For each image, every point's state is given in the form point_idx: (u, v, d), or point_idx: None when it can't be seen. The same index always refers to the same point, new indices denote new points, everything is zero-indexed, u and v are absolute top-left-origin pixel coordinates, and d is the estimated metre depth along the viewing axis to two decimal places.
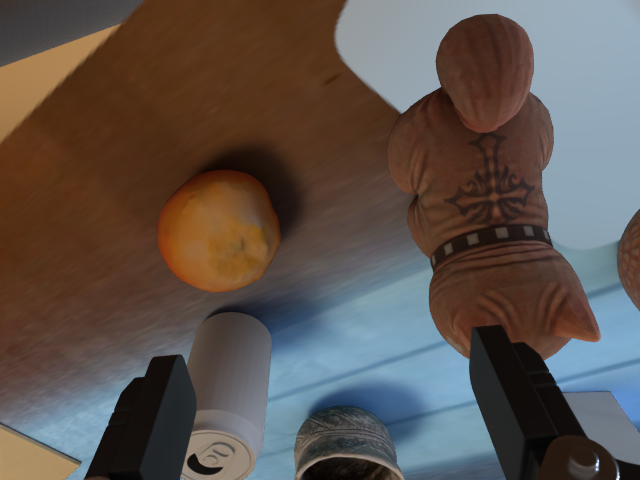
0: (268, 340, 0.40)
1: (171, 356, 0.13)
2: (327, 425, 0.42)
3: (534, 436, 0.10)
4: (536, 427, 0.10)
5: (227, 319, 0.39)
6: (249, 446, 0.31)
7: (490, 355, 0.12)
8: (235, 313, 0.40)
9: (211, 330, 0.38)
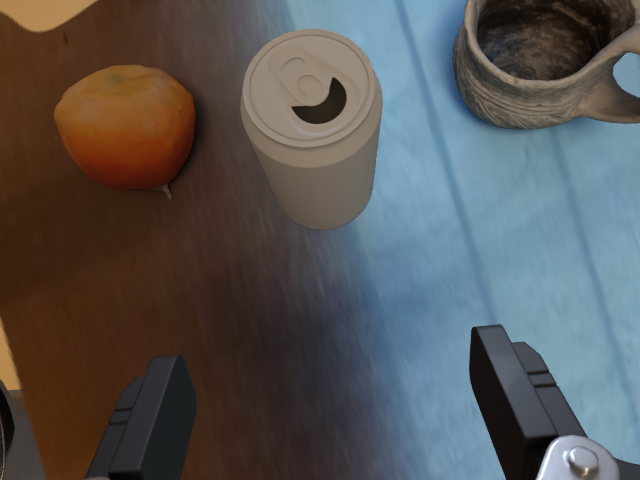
0: None
1: (171, 356, 0.13)
2: (458, 65, 0.30)
3: (534, 436, 0.10)
4: (536, 427, 0.10)
5: None
6: (294, 32, 0.22)
7: (490, 355, 0.12)
8: None
9: None
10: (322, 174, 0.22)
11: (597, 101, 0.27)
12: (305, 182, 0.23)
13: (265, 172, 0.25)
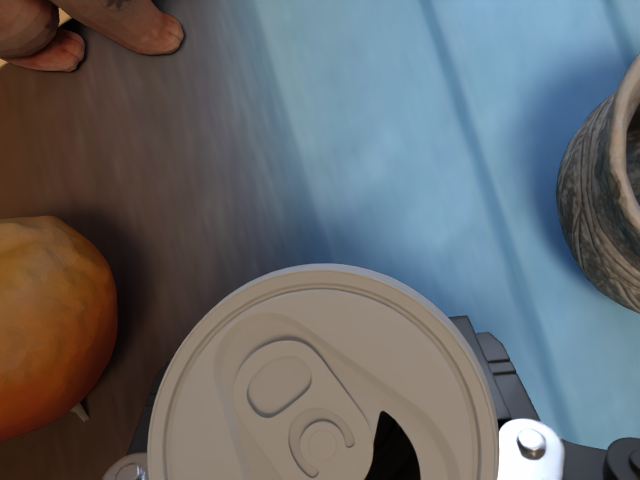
0: None
1: None
2: (576, 215, 0.17)
3: None
4: None
5: None
6: (282, 276, 0.09)
7: None
8: None
9: None
10: None
11: None
12: None
13: None
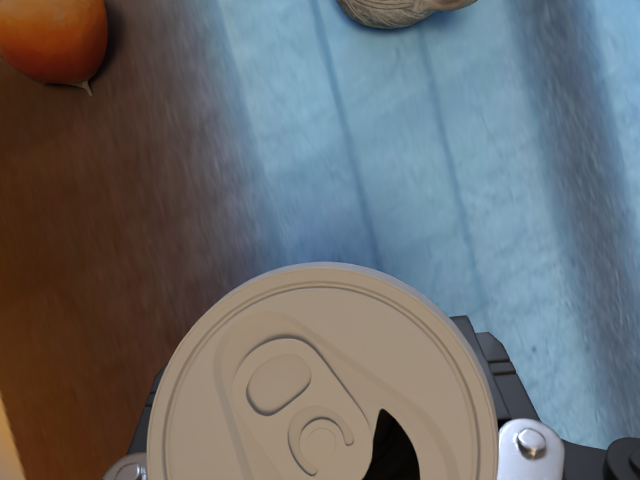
0: None
1: None
2: None
3: None
4: None
5: None
6: (281, 274, 0.09)
7: None
8: None
9: None
10: None
11: None
12: None
13: None
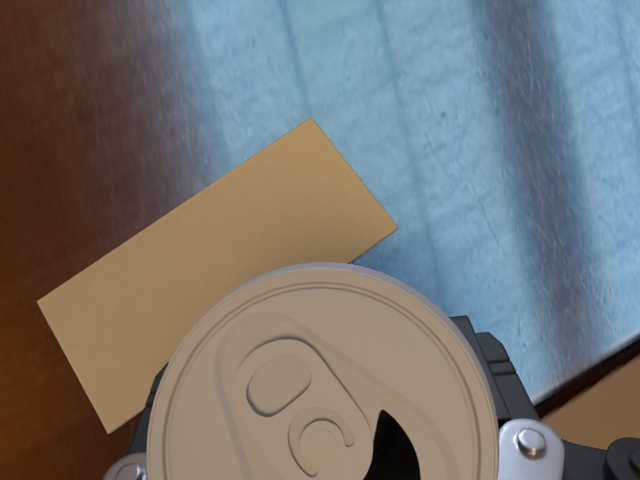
0: None
1: None
2: None
3: None
4: None
5: None
6: (281, 275, 0.09)
7: None
8: None
9: None
10: None
11: None
12: None
13: None
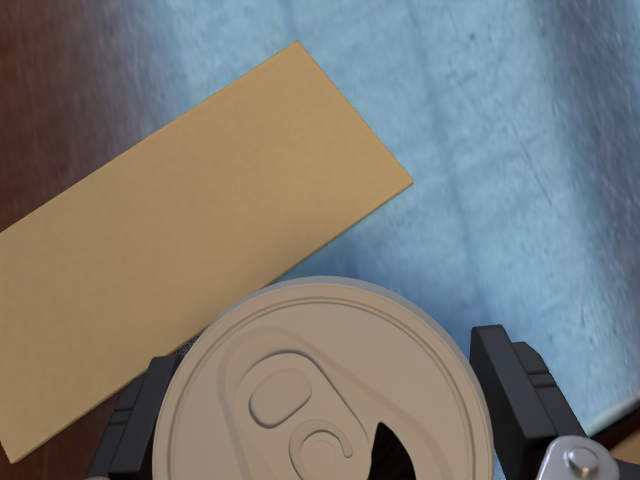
0: None
1: (171, 356, 0.13)
2: None
3: (534, 436, 0.10)
4: (536, 427, 0.10)
5: None
6: (282, 290, 0.09)
7: (490, 355, 0.12)
8: None
9: None
10: None
11: None
12: None
13: None
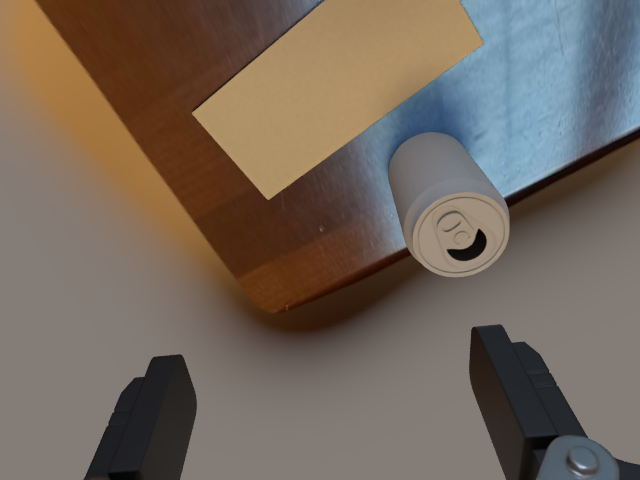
0: (427, 136, 0.37)
1: (171, 356, 0.13)
2: None
3: (534, 436, 0.10)
4: (536, 427, 0.10)
5: (390, 170, 0.38)
6: (453, 194, 0.28)
7: (490, 355, 0.12)
8: None
9: (391, 189, 0.38)
10: None
11: None
12: None
13: None
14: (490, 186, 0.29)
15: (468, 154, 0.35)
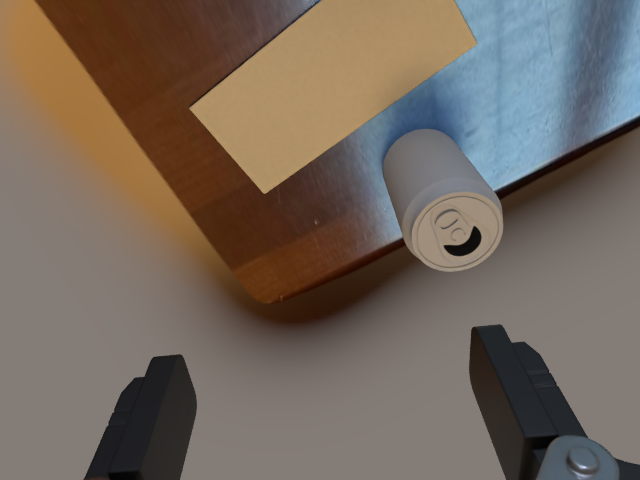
0: (422, 133, 0.38)
1: (171, 356, 0.13)
2: None
3: (534, 436, 0.10)
4: (536, 427, 0.10)
5: (385, 166, 0.39)
6: (451, 193, 0.29)
7: (490, 355, 0.12)
8: (385, 156, 0.39)
9: (386, 184, 0.39)
10: None
11: None
12: None
13: None
14: (485, 185, 0.30)
15: (461, 151, 0.36)
